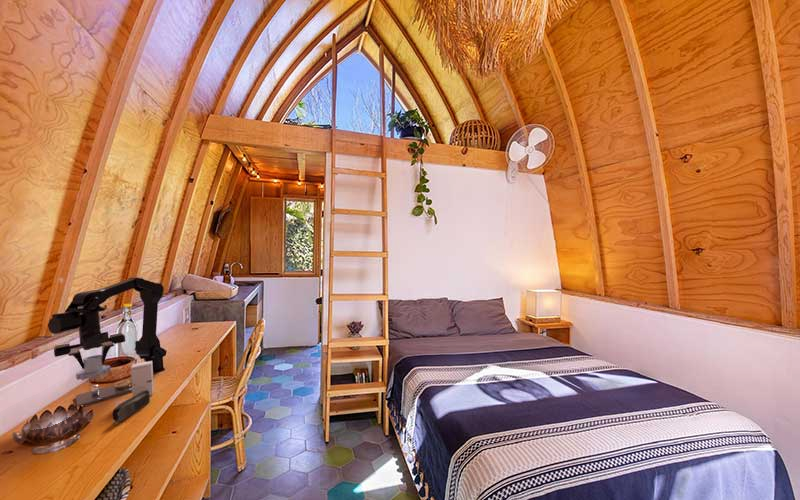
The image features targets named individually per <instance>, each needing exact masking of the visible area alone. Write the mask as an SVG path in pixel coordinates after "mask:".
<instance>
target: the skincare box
mask: <svg viewBox="0 0 800 500" xmlns="http://www.w3.org/2000/svg"><path fill="white" fill-rule="evenodd" d="M130 376H131V377H130V379H131V381H132V392H131V395H132V396H131V397H133V396H135V395H137V394H138V393H140V392H142V391H144V390H148V391H149V397H151V396H153V394H154V391H155V388H154V385H155V384H154V373H153V366H152V361H147V362H144V361H142V362H138V363H132V365H131V367H130Z"/></svg>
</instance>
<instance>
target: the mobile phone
mask: <svg viewBox="0 0 800 500" xmlns="http://www.w3.org/2000/svg"><path fill="white" fill-rule="evenodd" d="M150 397H151V396H149V391H148V390H144V391H142V392H140V393H138V394H137V395H135V396H133V397H132V396H131V397H130V398H128V399H126V400H124V401H122V402H120V403H119V404H118V405H116V407H115V408H114V409H113V411H112V419H113V421H114V422H115V423H113V426H117V425H118V424H119V423H121V422H123V421H124V420H126V419H127V418H129V417H130V416H132V415H134V413H136V412H138V411H140V409H142V408H144V407H145V406H147V405H148V404H149V403H150V401H151V399H150Z"/></svg>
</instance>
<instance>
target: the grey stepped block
mask: <svg viewBox="0 0 800 500" xmlns="http://www.w3.org/2000/svg"><path fill="white" fill-rule="evenodd" d="M82 360H83V363H84V369H83V370H81V371H78V372H77V373H76V374H75V379H76V380H77V381H78V380H81V381H83V380H86V379H87V380H91V379H93V378H96V377H98V378H99V377H101V376H102V375H106V374H108V373H110V372H111V371H112V368H111V364H110V365H109V364H108V365H107V364H105V365H104V364H102V354H94V355H91V356H86V357H84V358H82Z"/></svg>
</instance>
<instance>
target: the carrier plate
mask: <svg viewBox="0 0 800 500" xmlns="http://www.w3.org/2000/svg"><path fill="white" fill-rule="evenodd" d="M90 389H91V390H89V391H86V392H83V393H79V394H76V395H75V401H76V402H75V403H76V405H77V406H80V405H83V407H82V408H84V407H86V406H90V405H93V404H97V403H100V402H103V401H106V400H110V399H113V398H116V397H118V396H123V395H125V394H128V393H132V381H131V378H123V379H120V380H118V381H116V382H114V384H110V385H108V386H103V387H99V384H93V385H91V386H90Z"/></svg>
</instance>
